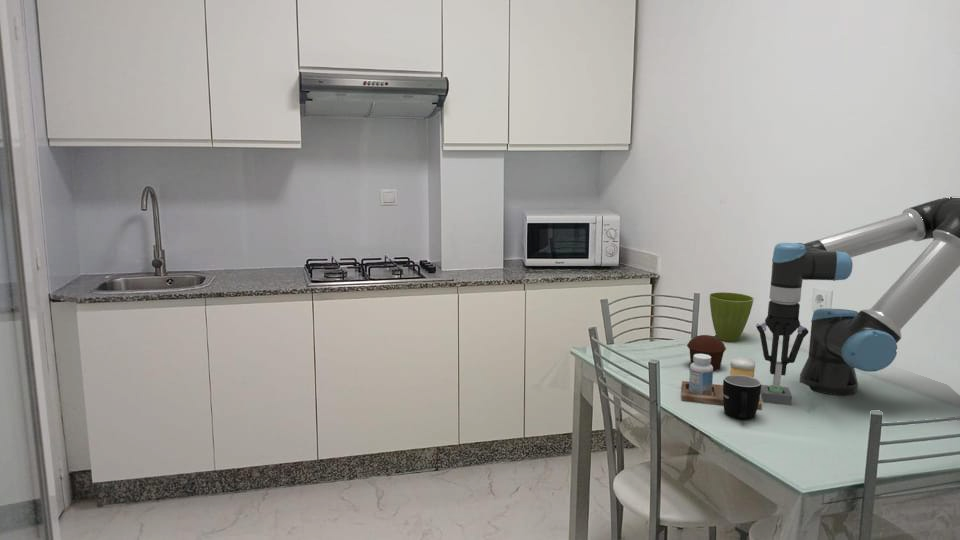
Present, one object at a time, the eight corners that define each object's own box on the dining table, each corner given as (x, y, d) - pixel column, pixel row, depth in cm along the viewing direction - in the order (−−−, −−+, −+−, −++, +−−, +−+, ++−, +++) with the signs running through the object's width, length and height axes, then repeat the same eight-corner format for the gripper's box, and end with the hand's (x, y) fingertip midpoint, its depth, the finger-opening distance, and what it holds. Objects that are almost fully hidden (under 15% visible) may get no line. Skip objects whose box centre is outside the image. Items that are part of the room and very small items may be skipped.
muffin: (722, 363, 212) (725, 333, 210) (726, 374, 201) (729, 342, 200) (684, 360, 215) (686, 330, 213) (686, 370, 204) (688, 339, 202)
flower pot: (744, 334, 246) (747, 293, 243) (755, 346, 231) (758, 301, 228) (702, 332, 248) (705, 291, 245) (711, 344, 233) (714, 300, 230)
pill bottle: (709, 392, 183) (712, 353, 181) (712, 400, 177) (715, 360, 175) (687, 390, 184) (689, 352, 182) (689, 398, 178) (692, 358, 176)
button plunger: (781, 397, 179) (782, 385, 179) (782, 401, 176) (784, 389, 176) (767, 396, 180) (768, 384, 180) (769, 400, 177) (770, 388, 177)
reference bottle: (751, 396, 180) (754, 358, 178) (753, 404, 174) (756, 365, 172) (727, 394, 182) (730, 356, 180) (728, 402, 176) (731, 363, 174)
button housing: (787, 399, 181) (788, 387, 180) (790, 408, 174) (792, 396, 174) (759, 396, 183) (760, 384, 182) (762, 405, 176) (763, 393, 176)
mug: (719, 409, 173) (722, 373, 172) (755, 413, 171) (758, 376, 169) (723, 427, 162) (726, 388, 160) (762, 432, 160) (765, 392, 158)
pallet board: (756, 397, 182) (757, 388, 182) (760, 413, 171) (761, 404, 170) (681, 389, 188) (682, 380, 188) (681, 404, 177) (681, 395, 176)
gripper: (808, 300, 175) (800, 384, 179) (756, 296, 179) (749, 378, 183) (814, 306, 168) (805, 393, 172) (759, 302, 172) (751, 387, 176)
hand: (776, 385), depth 178 cm, fingers closed
